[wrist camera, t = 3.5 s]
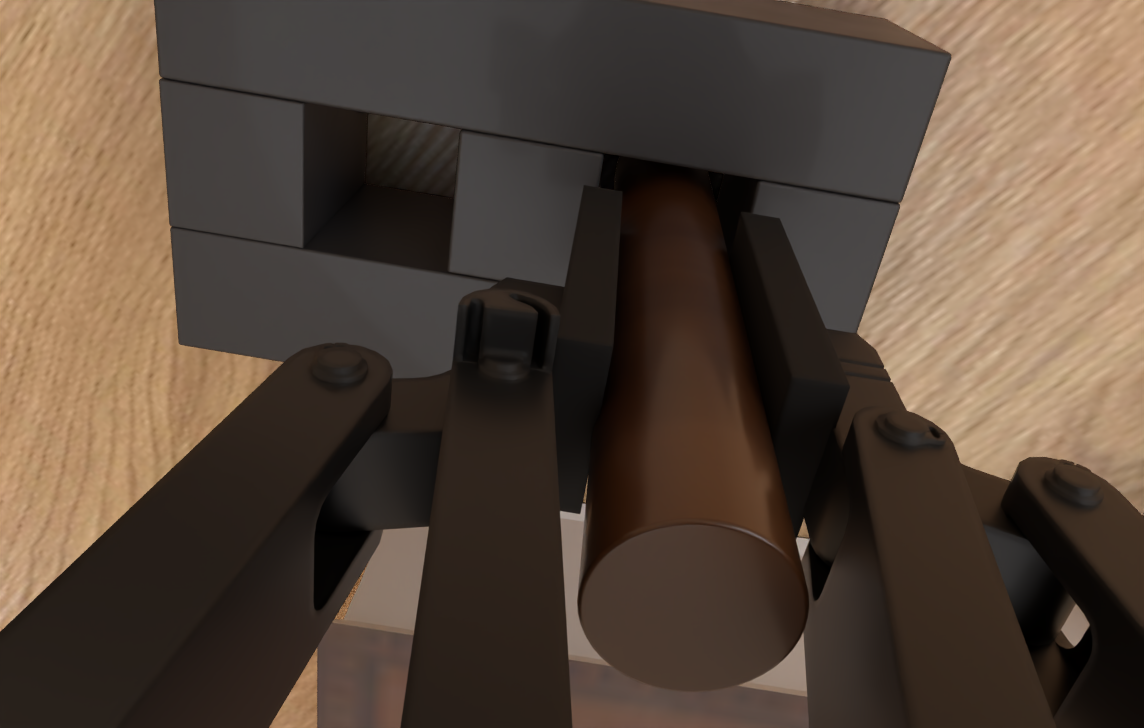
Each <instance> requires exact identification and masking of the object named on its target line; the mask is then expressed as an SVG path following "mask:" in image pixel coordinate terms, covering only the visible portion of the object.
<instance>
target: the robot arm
mask: <svg viewBox="0 0 1144 728" xmlns="http://www.w3.org/2000/svg"><path fill="white" fill-rule="evenodd" d="M622 193H623V192H622V191H616V190H610V189H604V188H599V187H593V186H587V185H584V187H583V192H582V198H581V203H580V208H579V213H578V219H577V224H576V229H575V234H574V239H573V245H572V250H571V255H570V260H569V266H568V271H567V276H566V281H565V287H563V286H557V285H551V284H545V283H539V282H533V281H527V280H521V279H515V278H509V277H506V278H505V279H503V280H501V281H500V282H498V283H497V284H495V285H493V286H492V287H490V289H484V290H477V291H474V292H472V293H470V294H467V295H465V296H463V298H462V299H461V301H460V302H459V304H458V311H457V321H456V331H455V341H454V351H453V361H452V368H451V370H449V371H446V372H444V373H442V374H438V375H433V376H429V377H420V378H392V377H393V369H392V367H391V365H390V363H389V360H387V359H386V358H385V357H383V356H382V355H381V354H379V353H378V352H376V351H374V350H371V349H368V348H365V347H362V346H358V345H350V344H347V343H335V344H332V343H324V344H320V345H316V346H312V347H309V348H305V349H302V350H300V351H299V352H297V353H295V354H294V355H292V356H290V357H289V358H288V359H287V360H286V361H285V362H284V363H283V364H282V365H281V366H280V367H278V368H277V369H276V370H275V371H274V372H273V373H272V374H271V375H270V376H269V377H268V378H267V379H266V380H265V381H264V382H263V383H262V384H261V385H260V386H258V387H257V388H256V389H255V390H254V391H253V392H252V393H251V394H250V395H249V396H248V397H247V398H246V399H245V400H244V401H243V402H242V403H241V404H240V405H238V406H237V407H236V408H235V409H234V410H233V411H232V412H231V413H230V414H229V415H228V416H227V417H226V418H225V419H224V420H223V421H222V422H221V423H220V424H218V425H217V426H216V427H215V428H214V429H213V430H212V431H211V432H210V433H209V434H208V435H207V436H206V437H205V438H204V439H203V440H202V441H201V442H200V443H198V444H197V445H196V446H195V447H194V448H193V449H192V450H191V451H190V452H189V453H188V454H187V455H186V456H185V457H184V458H183V459H182V460H181V461H180V462H178V463H177V464H176V465H175V466H174V467H173V468H172V469H171V470H170V471H169V472H168V473H167V474H166V475H165V476H164V477H163V478H162V479H161V480H160V481H158V482H157V483H156V484H155V485H154V486H153V487H152V488H151V489H150V490H149V491H148V492H147V493H146V494H145V495H144V496H143V497H142V498H141V499H140V500H138V501H137V502H136V503H135V504H134V505H133V506H132V507H131V508H130V509H129V510H128V511H127V512H126V513H125V514H124V515H123V516H122V517H121V518H120V519H118V520H117V521H116V522H115V523H114V524H113V525H112V526H111V527H110V528H109V529H108V530H107V531H106V532H105V533H104V534H103V535H102V536H101V537H100V538H98V539H97V540H96V541H95V542H94V543H93V544H92V545H91V546H90V547H89V548H88V549H87V550H86V551H85V552H84V553H83V554H82V555H81V556H80V557H78V558H77V559H76V560H75V561H74V562H73V563H72V564H71V565H70V566H69V567H68V568H67V569H66V570H65V571H64V572H63V573H62V574H61V575H60V576H58V577H57V578H56V579H55V580H54V581H53V582H52V583H51V584H50V585H49V586H48V587H47V588H46V589H45V590H44V591H43V592H42V593H41V594H40V595H38V596H37V597H36V598H35V599H34V600H33V601H32V602H31V603H30V604H29V605H28V606H27V607H26V608H25V609H24V610H23V611H22V612H21V613H20V614H18V615H17V616H16V617H15V618H14V619H13V620H12V621H11V622H10V623H9V624H8V625H7V626H6V627H5V628H4V629H3V630H2V631H1V632H0V728H269V726H270V725H271V723H272V721H273V720H274V718H275V716H276V715H277V713H278V711H279V710H280V708H281V706H282V705H283V703H284V701H285V700H286V698H287V696H288V695H289V693H290V692H291V690H292V688H293V687H294V685H295V683H296V682H297V680H298V678H299V677H300V675H301V673H302V672H303V670H304V668H305V667H306V665H307V663H308V662H309V660H310V658H311V657H312V655H313V653H314V652H315V650H316V648H317V647H318V645H319V643H320V642H321V640H322V638H323V637H324V635H325V633H326V632H327V630H328V628H329V627H330V625H331V623H332V622H333V620H334V618H335V617H336V615H337V613H338V612H339V610H340V608H341V607H342V605H343V603H344V602H345V600H346V598H347V597H348V595H349V593H350V592H351V590H352V588H353V587H354V585H355V583H356V582H357V580H358V578H359V577H360V575H361V573H362V572H363V570H364V568H365V567H366V565H367V563H368V562H369V560H370V558H371V557H372V555H373V554H374V552H375V550H376V549H377V547H378V545H379V544H380V540H381V537H382V533H383V530H386V529H401V528H416V527H429V530H428V537H427V544H426V551H425V558H424V565H423V572H422V579H421V586H420V593H419V600H418V607H417V614H416V621H415V628H414V635H413V642H412V649H411V656H410V663H409V670H408V677H407V684H406V691H405V698H404V706H403V713H402V720H401V727H400V728H573V726H572V709H571V692H570V675H569V657H568V640H567V623H566V605H565V588H564V571H563V554H562V536H561V519H560V511H563V512H569V513H575V514H580V513H581V508H582V503H583V498H584V493H585V488H586V483H587V478H588V473H589V462H590V451H591V441H592V434H593V430H594V426H595V424H596V421H597V419H598V417H599V415H600V412H601V407H602V402H603V397H604V392H605V387H606V382H607V377H608V372H609V367H610V362H611V357H612V351H613V345H614V328H615V311H616V294H617V277H618V260H619V243H620V227H621V210H622ZM729 261H730V265H731V269H732V274H733V278H734V282H735V286H736V290H737V295H738V299H739V303H740V307H741V311H742V316H743V320H744V324H745V328H746V332H747V337H748V341H749V345H750V349H751V353H752V358H753V362H754V366H755V370H756V374H757V379H758V383H759V387H760V391H761V395H762V400H763V404H764V408H765V412H766V416H767V421H768V425H769V429H770V433H771V437H772V442H773V446H774V450H775V454H776V458H777V462H778V467H779V471H780V475H781V479H782V483H783V488H784V492H785V496H786V500H787V504H788V509H789V513H790V517H791V521H792V525H793V530H794V534H795V538H796V539H797V536H798V533H799V530H800V527H801V525H802V522H803V519H804V518H805V522H806V526H807V530H808V534H809V538H810V539H809V542H808V544H807V547H806V550H805V553H804V555H803V558H802V561H801V563H802V567H803V572H804V576H805V580H806V584H807V588H808V593H809V614H808V619H807V622H806V626H805V629H804V631H803V636H804V652H805V668H806V684H807V700H808V716H809V728H1144V517H1143V516H1142V515H1141V514H1140V513H1139V512H1138V510H1137V509H1136V508H1135V507H1134V506H1133V505H1132V504H1131V503H1130V502H1129V501H1128V500H1127V499H1126V498H1125V497H1124V496H1123V495H1122V494H1121V493H1120V492H1119V491H1118V490H1117V489H1115V488H1114V487H1113V486H1112V485H1111V484H1109V483H1108V482H1107V481H1106V480H1104V479H1103V478H1101V477H1099V476H1097V475H1095V474H1094V473H1092V472H1091V471H1090V470H1089V469H1088V468H1086V467H1083V466H1081V465H1079V464H1077V465H1074V463H1073V462H1070V461H1067V460H1057V459H1052V458H1047V457H1029V458H1027V459H1025V460H1023V461H1021V462H1019V465H1018V467H1017V469H1016V471H1015V473H1014V475H1013V477H1012V479H1011V481H1008V480H1005V479H1002V478H999V477H996V476H993V475H990V474H987V473H984V472H982V471H979V470H976V469H973V468H970V467H968V466H965V465H963V464H961V463H960V461H959V458H958V455H957V452H956V450H955V447H954V444H953V442H952V441H951V439H950V438H949V437H948V435H947V434H946V432H944V431H943V430H942V429H941V428H939V427H938V426H937V425H935V424H934V423H933V422H931V421H929V420H927V419H925V418H923V417H921V416H919V415H917V414H915V413H912V412H909V411H907V410H906V408H905V406H904V404H903V402H902V400H901V398H900V396H899V394H898V392H897V391H896V389H895V387H894V385H893V383H892V382H890V380H891V379H890V377H889V375H888V373H887V371H886V369H884V365H883V363H882V361H881V359H880V357H879V355H878V353H877V351H876V350H875V349H874V348H873V347H872V346H871V345H869V344H868V343H867V342H866V341H865V340H864V339H862V338H861V337H860V336H859V335H858V334H856V333H850V332H844V331H838V330H832V329H826V328H825V325H824V323H823V320H822V318H821V316H820V313H819V311H818V308H817V306H816V304H815V301H814V299H813V296H812V294H811V292H810V289H809V287H808V285H807V282H806V280H805V277H804V275H803V273H802V270H801V268H800V265H799V263H798V261H797V258H796V256H795V254H794V251H793V249H792V246H791V244H790V242H789V239H788V237H787V234H786V232H785V230H784V227H783V225H782V222H781V220H780V218H776V217H770V216H764V215H758V214H752V213H746V212H741V214H740V218H739V222H738V226H737V230H736V234H735V238H734V242H733V246H732V250H731V253H730V257H729ZM1076 604H1077V606H1078V607H1079V608H1080V610H1081V611H1082V612H1083V613H1084V615H1085V617H1086V619H1087V621H1088V623H1089V624H1090V625H1089V627H1088V628H1087V630H1086V632H1085V634H1084V635H1083V637H1082V639H1081V640H1080V642H1079V643H1078V644H1077V645H1076V646H1075V647H1074V646H1073V645H1072V644H1071V643H1070V642H1069V640H1068V639H1067V638H1066V636H1065V635H1064V633H1063V632H1062V631H1061V629H1062V627H1063V625H1064V624H1065V622H1066V620H1067V619H1068V617H1069V615H1070V613H1071V612H1072V610H1073V608H1074V606H1075V605H1076Z"/></svg>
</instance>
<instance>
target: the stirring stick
mask: <svg viewBox="0 0 1144 728" xmlns="http://www.w3.org/2000/svg"><path fill="white" fill-rule="evenodd" d="M614 190H616V191H622V192H623V193H622V210H621V227H620V243H619V260H618V277H617V294H616V311H615V328H614V345H613V351H612V357H611V362H610V367H609V372H608V377H607V382H606V387H605V392H604V397H603V402H602V407H601V412H600V415H599V417H598V419H597V421H596V424H595V426H594V430H593V434H592V441H591V451H590V462H589V473H588V485H587V496H586V507H585V518H584V529H583V541H582V552H581V563H580V574H579V586H578V597H577V609H578V616H579V620H580V624H581V627H582V629H583V632H584V634H585V636H586V638H587V639H588V641H589V643H590V644H591V646H592V647H593V649H594V650H595V651H596V652H597V653H598V655H599V656H600V657H601V658H602V659H603V660H605V661H606V662H607V663H608V664H609V665H610V666H612V667H613V668H615V669H616V670H617V671H619V672H620V673H622V674H624V675H626V676H628V677H629V678H632V679H634V680H636V681H639V682H641V683H643V684H647V685H650V686H653V687H657V688H661V689H666V690H672V691H681V692H705V691H715V690H721V689H726V688H730V687H734V686H738V685H741V684H743V683H746V682H749V681H751V680H753V679H755V678H757V677H759V676H761V675H763V674H765V673H767V672H768V671H770V670H771V669H773V668H774V667H775V666H777V665H778V664H779V663H780V662H781V661H783V660H784V659H785V658H786V657H787V656H788V655H789V653H790V652H791V651H792V650H793V649H794V647H795V646H796V644H797V643H798V641H799V640H800V638H801V635H802V633H803V631H804V629H805V626H806V622H807V619H808V614H809V593H808V588H807V584H806V580H805V576H804V572H803V567H802V563H801V559H800V555H799V551H798V546H797V542H796V538H795V534H794V530H793V525H792V521H791V517H790V513H789V509H788V504H787V500H786V496H785V492H784V488H783V483H782V479H781V475H780V471H779V467H778V462H777V458H776V454H775V450H774V446H773V442H772V437H771V433H770V429H769V425H768V421H767V416H766V412H765V408H764V404H763V400H762V395H761V391H760V387H759V383H758V379H757V374H756V370H755V366H754V362H753V358H752V353H751V349H750V345H749V341H748V337H747V332H746V328H745V324H744V320H743V316H742V311H741V307H740V303H739V299H738V295H737V290H736V286H735V282H734V278H733V274H732V269H731V265H730V261H729V257H728V253H727V248H726V244H725V240H724V236H723V232H722V227H721V223H720V219H719V215H718V211H717V206H716V202H715V198H714V194H713V190H712V186H711V181H710V177H709V173H708V171H706V170H700V169H694V168H688V167H682V166H676V165H671V164H665V163H659V162H653V161H647V160H641V159H635V158H629V157H623V156H619V158H618V161H617V165H616V171H615V182H614Z"/></svg>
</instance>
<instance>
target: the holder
mask: <svg viewBox="0 0 1144 728" xmlns="http://www.w3.org/2000/svg"><path fill="white" fill-rule="evenodd" d="M154 6H155V20H156V34H157V47H158V61H159V74H160V77H162V78H161V79H160V80H159V86H160V100H161V113H162V127H163V141H164V154H165V168H166V182H167V195H168V209H169V223H170V226H171V229H170V231H171V244H172V258H173V272H174V286H175V299H176V313H177V327H178V340H179V344H180V345H185V346H191V347H197V348H203V349H209V350H215V351H221V352H227V353H233V354H239V355H245V356H251V357H257V358H263V359H269V360H275V361H281V362H285V361H286V360H287V359H288V358H289V357H290V356H292V355H294V354H295V353H297V352H299V351H300V350H302V349H305V348H309V347H312V346H316V345H320V344H324V343H332V344H335V343H347V344H350V345H358V346H362V347H365V348H368V349H371V350H374V351H376V352H378V353H379V354H381V355H382V356H383V357H385V358H386V359H387V360H389V363H390V365H391V367H392V369H393V377H392V378H420V377H429V376H433V375H438V374H442V373H444V372H446V371H449V370H451V368H452V361H453V351H454V341H455V331H456V321H457V311H458V304H459V302H460V301H461V299H462V298H463V296H465V295H467V294H470V293H472V292H474V291H477V290H484V289H490V287H492V286H493V285H495V284H497V283H498V282H500V281H501V280H503V279H505V278H506V277H509V278H515V279H521V280H527V281H533V282H539V283H545V284H551V285H557V286H563V287H565V281H566V276H567V271H568V266H569V260H570V255H571V250H572V245H573V239H574V234H575V229H576V224H577V219H578V213H579V208H580V203H581V198H582V192H583V187H584V185H587V186H593V187H599V182H600V177H601V171H602V165H603V159H604V153H606V154H612V155H618V156H623V157H629V158H635V159H641V160H647V161H653V162H659V163H665V164H671V165H676V166H682V167H688V168H694V169H700V170H706V171H712V172H718V173H724V175H723V179H722V183H721V187H720V191H719V195H718V200H717V204H716V206H717V211H718V215H719V219H720V223H721V227H722V232H723V236H724V240H725V244H726V248H727V253H728V257H730V253H731V250H732V246H733V242H734V238H735V234H736V230H737V226H738V222H739V218H740V214H741V212H746V213H752V214H758V215H764V216H770V217H776V218H780V220H781V222H782V225H783V227H784V230H785V232H786V234H787V237H788V239H789V242H790V244H791V246H792V249H793V251H794V254H795V256H796V258H797V261H798V263H799V265H800V268H801V270H802V273H803V275H804V277H805V280H806V282H807V285H808V287H809V289H810V292H811V294H812V296H813V299H814V301H815V304H816V306H817V308H818V311H819V313H820V316H821V318H822V320H823V323H824V325H825V328H826V329H832V330H838V331H844V332H850V333H857V330H858V327H859V324H860V322H861V319H862V316H863V313H864V310H865V307H866V304H867V301H868V298H869V296H870V293H871V290H872V287H873V284H874V281H875V278H876V275H877V272H878V269H879V267H880V264H881V261H882V258H883V255H884V252H885V249H886V246H887V243H888V241H889V238H890V235H891V232H892V229H893V226H894V223H895V220H896V217H897V215H898V212H899V209H900V204H899V202H901V201H902V199H903V196H904V194H905V191H906V188H907V185H908V182H909V179H910V176H911V173H912V170H913V168H914V165H915V162H916V159H917V156H918V153H919V150H920V147H921V144H922V142H923V139H924V136H925V133H926V130H927V127H928V124H929V121H930V118H931V116H932V113H933V110H934V107H935V104H936V101H937V98H938V95H939V92H940V89H941V87H942V84H943V81H944V78H945V75H946V72H947V69H948V66H949V63H950V61H951V54H950V53H949V52H947V51H945V50H943V49H941V48H939V47H937V46H935V45H934V44H932V43H930V42H928V41H926V40H924V39H922V38H921V37H919V36H917V35H915V34H913V33H911V32H909V31H907V30H906V29H904V28H902V27H900V26H898V25H896V24H894V23H892V22H891V21H889V20H887V19H882V18H876V17H871V16H865V15H859V14H853V13H847V12H842V11H836V10H830V9H824V8H818V7H813V6H807V5H801V4H795V3H789V2H784V1H778V0H154ZM368 113H370V114H376V115H382V116H388V117H394V118H400V119H406V120H412V121H417V122H423V123H429V124H435V125H441V126H447V127H453V128H459V129H462V130H461V131H460V135H459V146H458V157H457V168H456V180H455V191H454V199H453V198H447V197H441V196H435V195H429V194H424V193H418V192H412V191H406V190H400V189H394V188H388V187H382V186H376V185H370V184H364V182H365V169H366V144H367V118H368Z"/></svg>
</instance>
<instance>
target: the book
mask: <svg viewBox="0 0 1144 728" xmlns="http://www.w3.org/2000/svg"><path fill="white" fill-rule="evenodd" d="M585 507H586V504H582V508H581V513H580V514H575V513H569V512H563V511H560V519H561V536H562V554H563V571H564V588H565V605H566V623H567V640H568V657H569V675H570V692H571V709H572V726H573V728H809V716H808V700H807V684H806V668H805V652H804V636H803V633H802V635H801V638H800V640H799V641H798V643H797V644H796V646H795V647H794V649H793V650H792V651H791V652H790V653H789V655H788V656H787V657H786V658H785V659H784V660H783V661H781V662H780V663H779V664H778V665H777V666H775V667H774V668H773V669H771V670H770V671H768V672H767V673H765V674H763V675H761V676H759V677H757V678H755V679H753V680H751V681H749V682H746V683H743V684H741V685H738V686H734V687H730V688H726V689H721V690H715V691H705V692H681V691H672V690H666V689H661V688H657V687H653V686H650V685H647V684H643V683H641V682H639V681H636V680H634V679H632V678H629V677H628V676H626V675H624V674H622V673H620V672H619V671H617V670H616V669H615V668H613V667H612V666H610V665H609V664H608V663H607V662H606V661H605V660H603V659H602V658H601V657H600V656H599V655H598V653H597V652H596V651H595V650H594V649H593V647H592V646H591V644H590V643H589V641H588V639H587V638H586V636H585V634H584V632H583V629H582V627H581V624H580V620H579V616H578V609H577V597H578V586H579V574H580V563H581V552H582V541H583V529H584V518H585ZM428 530H429V527H416V528H401V529H386V530H383V533H382V537H381V540H380V544H379V545H378V547H377V549H376V550H375V552H374V554H373V555H372V557H371V558H370V560H369V562H368V565H367V567H366V570H365V572H364V574H363V577H362V579H361V582H360V584H359V586H358V588H357V590H356V592H355V594H354V596H353V598H352V600H351V603H350V605H349V608H348V610H347V613H346V615H345V618H344V619H338V620H333V622H332V623H331V625H330V627H329V628H328V630H327V632H326V633H325V635H324V637H323V638H322V640H321V642H320V643H319V645H318V647H317V728H400V727H401V720H402V713H403V706H404V698H405V691H406V684H407V677H408V670H409V663H410V656H411V649H412V642H413V635H414V628H415V621H416V614H417V607H418V600H419V593H420V586H421V579H422V572H423V565H424V558H425V551H426V544H427V537H428ZM796 542H797V546H798V551H799V555H800V559H801V561H802V558H803V555H804V553H805V550H806V547H807V544H808V542H809V539H805V538H798V537H797V539H796ZM1089 625H1090V624H1089V623H1088V621H1087V619H1086V617H1085V615H1084V613H1083V612H1082V611H1081V610H1080V608H1079V607H1078V606H1077V604H1076V605H1075V606H1074V608H1073V610H1072V612H1071V613H1070V615H1069V617H1068V619H1067V620H1066V622H1065V624H1064V625H1063V627H1062V629H1061V631H1062V632H1063V633H1064V635H1065V636H1066V638H1067V639H1068V640H1069V642H1070V643H1071V644H1072V645H1073V646H1074V647H1075V646H1076V645H1077V644H1078V643H1079V642H1080V640H1081V639H1082V637H1083V635H1084V634H1085V632H1086V630H1087V628H1088V627H1089Z"/></svg>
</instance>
